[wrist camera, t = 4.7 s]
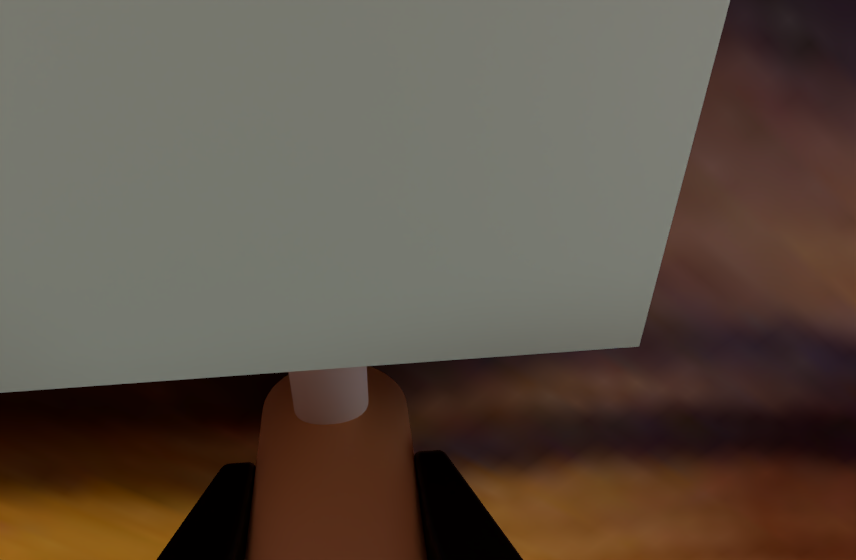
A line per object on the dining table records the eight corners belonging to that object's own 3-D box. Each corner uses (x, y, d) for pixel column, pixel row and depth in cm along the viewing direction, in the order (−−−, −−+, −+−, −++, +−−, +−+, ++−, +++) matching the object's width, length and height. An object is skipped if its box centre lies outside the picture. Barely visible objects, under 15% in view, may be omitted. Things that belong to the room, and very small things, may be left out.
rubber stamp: (471, 428, 11) (540, 722, 7) (203, 451, 11) (135, 776, 7) (529, -345, 6) (912, -692, 2) (-26, -372, 5) (-955, -898, 1)
